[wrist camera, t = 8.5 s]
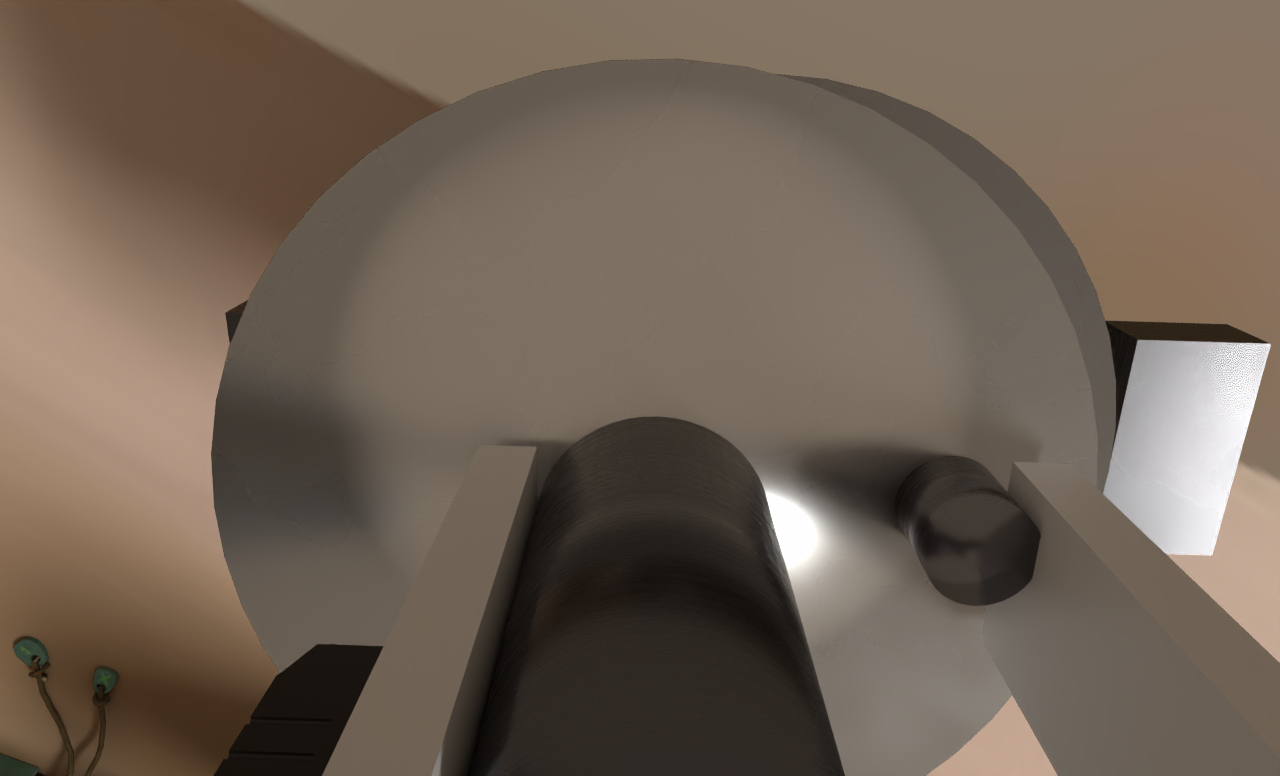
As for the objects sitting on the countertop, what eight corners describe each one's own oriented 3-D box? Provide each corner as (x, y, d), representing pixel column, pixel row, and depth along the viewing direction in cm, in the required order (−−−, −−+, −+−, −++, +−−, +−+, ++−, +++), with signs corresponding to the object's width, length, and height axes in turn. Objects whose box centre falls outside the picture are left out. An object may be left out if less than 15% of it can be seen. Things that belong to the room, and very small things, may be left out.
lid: (334, 831, 15) (97, 1405, 9) (145, 105, 11) (-554, 148, 5) (1038, 787, 15) (1349, 1355, 8) (1098, 15, 11) (1793, -75, 4)
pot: (1008, 531, 25) (1188, 767, 17) (393, 512, 25) (260, 736, 17) (1092, 82, 21) (1388, 90, 12) (358, 61, 21) (159, 56, 13)
